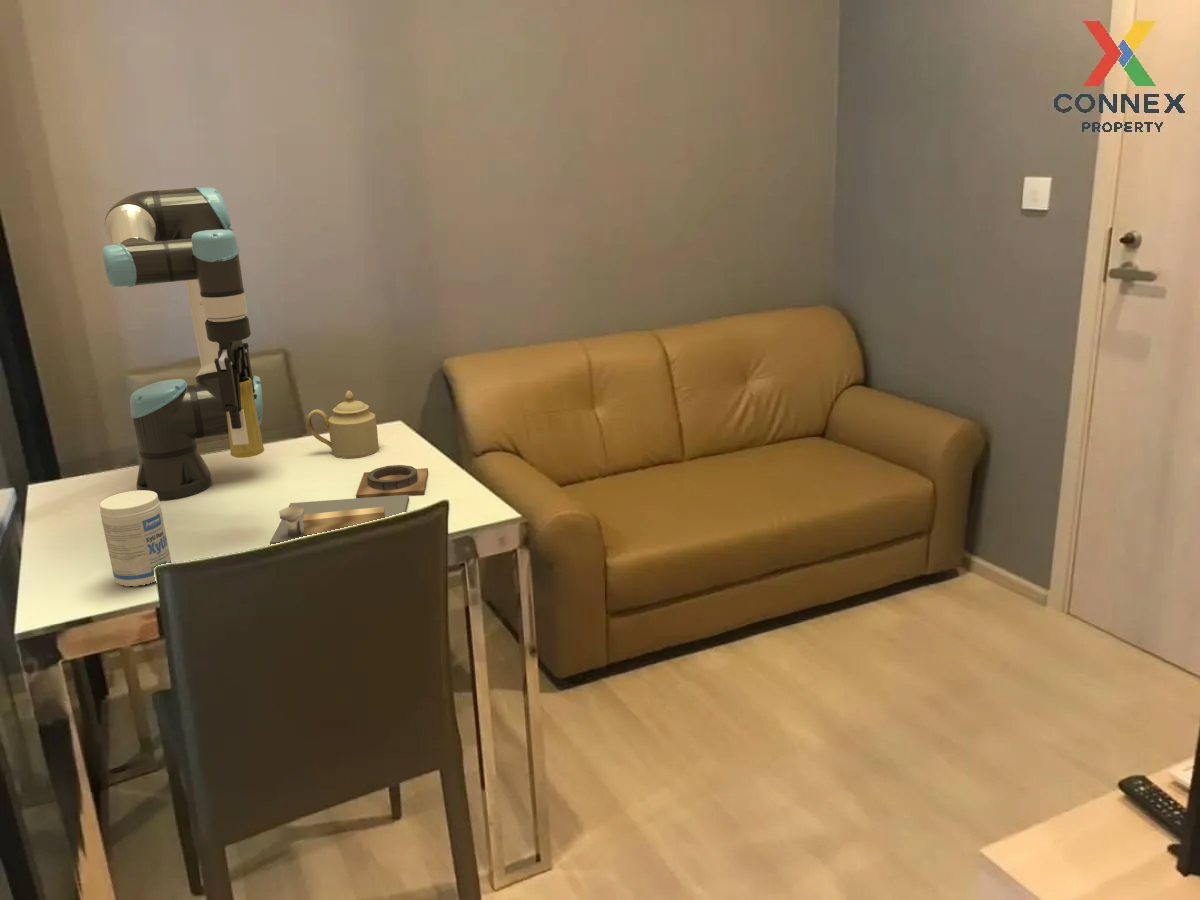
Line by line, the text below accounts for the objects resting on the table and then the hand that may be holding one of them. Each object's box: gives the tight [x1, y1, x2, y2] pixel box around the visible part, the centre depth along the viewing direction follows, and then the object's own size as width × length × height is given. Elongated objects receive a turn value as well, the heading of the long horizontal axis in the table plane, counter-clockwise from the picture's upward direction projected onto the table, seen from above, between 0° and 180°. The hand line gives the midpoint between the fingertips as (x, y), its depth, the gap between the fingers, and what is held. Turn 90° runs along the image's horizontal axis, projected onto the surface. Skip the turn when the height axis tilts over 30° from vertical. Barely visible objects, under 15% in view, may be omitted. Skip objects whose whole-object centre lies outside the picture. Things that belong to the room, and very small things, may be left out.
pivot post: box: [286, 518, 301, 537], centre depth 190 cm, size 2×2×4 cm
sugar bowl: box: [306, 390, 380, 459], centre depth 237 cm, size 15×11×15 cm
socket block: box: [355, 464, 429, 498], centre depth 216 cm, size 14×14×3 cm
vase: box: [226, 377, 265, 459], centre depth 188 cm, size 6×6×14 cm
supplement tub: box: [99, 490, 172, 587], centre depth 175 cm, size 10×10×15 cm
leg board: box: [269, 495, 410, 545], centre depth 198 cm, size 24×20×1 cm
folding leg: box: [278, 506, 385, 535], centre depth 191 cm, size 19×4×5 cm, turn 101°
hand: (245, 438), depth 190 cm, fingers closed on vase, 6 cm apart
